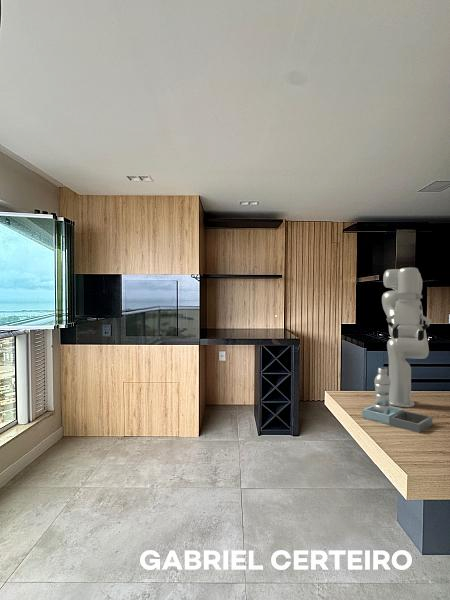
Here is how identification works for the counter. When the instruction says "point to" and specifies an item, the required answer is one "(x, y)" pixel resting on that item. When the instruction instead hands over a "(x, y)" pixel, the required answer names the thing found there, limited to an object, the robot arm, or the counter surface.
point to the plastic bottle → (382, 392)
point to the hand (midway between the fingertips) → (407, 339)
